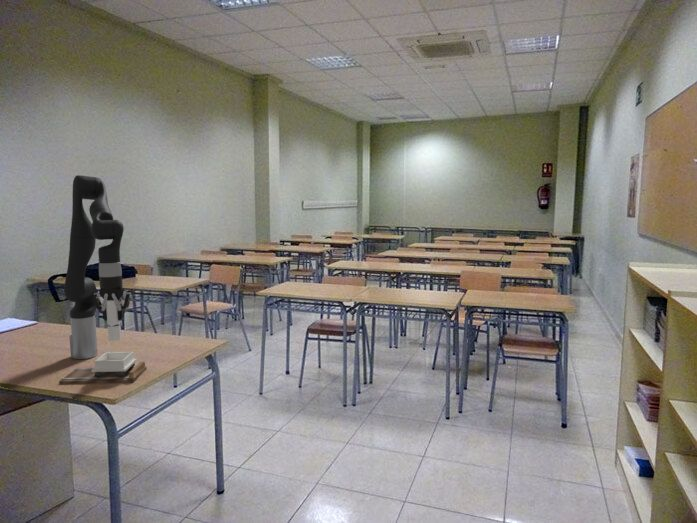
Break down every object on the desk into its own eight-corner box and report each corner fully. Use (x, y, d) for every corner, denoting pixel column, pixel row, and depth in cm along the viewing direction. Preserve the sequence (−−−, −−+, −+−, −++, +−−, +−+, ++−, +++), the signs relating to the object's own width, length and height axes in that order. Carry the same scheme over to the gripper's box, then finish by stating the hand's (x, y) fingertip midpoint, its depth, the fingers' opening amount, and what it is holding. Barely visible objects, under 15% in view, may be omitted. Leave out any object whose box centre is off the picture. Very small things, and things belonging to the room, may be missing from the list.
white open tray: (91, 378, 180) (90, 361, 179) (105, 367, 192) (104, 351, 191) (125, 377, 181) (125, 361, 180) (137, 366, 193) (136, 351, 192)
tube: (111, 337, 187) (108, 298, 185) (122, 337, 187) (120, 298, 185) (106, 340, 183) (103, 300, 181) (118, 340, 183) (116, 300, 181)
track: (59, 384, 178) (58, 374, 178) (77, 370, 192) (77, 362, 192) (133, 382, 180) (133, 373, 180) (146, 369, 194) (146, 360, 194)
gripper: (85, 276, 178) (89, 323, 180) (126, 275, 179) (129, 322, 181) (94, 273, 185) (97, 318, 187) (134, 272, 186) (136, 317, 188)
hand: (113, 320), depth 184 cm, fingers closed on tube, 4 cm apart
